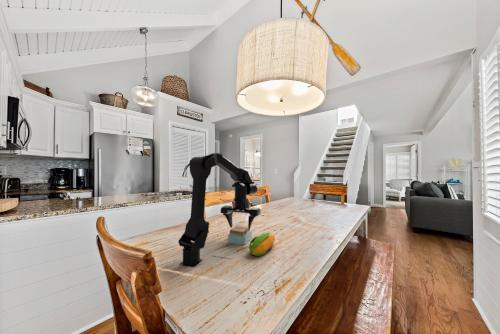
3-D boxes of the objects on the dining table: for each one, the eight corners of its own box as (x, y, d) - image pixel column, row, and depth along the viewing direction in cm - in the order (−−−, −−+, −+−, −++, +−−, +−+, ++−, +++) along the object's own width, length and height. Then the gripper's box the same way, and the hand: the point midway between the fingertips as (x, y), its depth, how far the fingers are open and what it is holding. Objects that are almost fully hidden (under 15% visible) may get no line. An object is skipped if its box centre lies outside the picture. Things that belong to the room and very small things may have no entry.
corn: (244, 238, 81) (266, 226, 99) (243, 257, 82) (264, 241, 99) (261, 243, 78) (280, 229, 95) (260, 263, 78) (279, 245, 95)
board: (242, 236, 93) (242, 232, 93) (229, 234, 95) (229, 230, 95) (249, 230, 103) (249, 226, 103) (237, 228, 105) (237, 224, 105)
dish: (245, 246, 93) (245, 236, 93) (227, 244, 96) (227, 234, 96) (251, 239, 102) (251, 230, 102) (235, 237, 105) (235, 228, 105)
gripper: (263, 195, 104) (263, 225, 104) (229, 193, 109) (229, 222, 109) (257, 198, 93) (257, 232, 93) (220, 195, 99) (219, 228, 99)
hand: (240, 228), depth 99 cm, fingers open, 9 cm apart
